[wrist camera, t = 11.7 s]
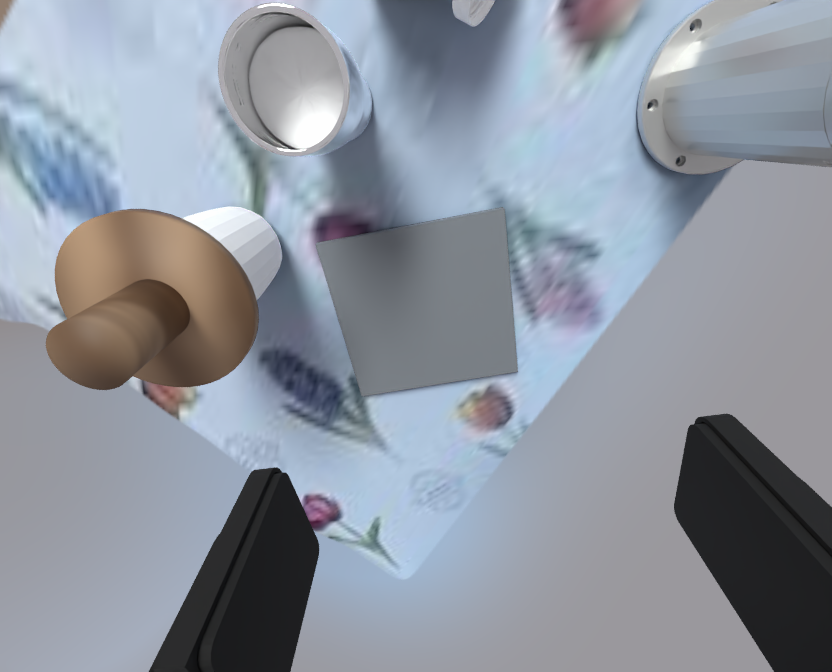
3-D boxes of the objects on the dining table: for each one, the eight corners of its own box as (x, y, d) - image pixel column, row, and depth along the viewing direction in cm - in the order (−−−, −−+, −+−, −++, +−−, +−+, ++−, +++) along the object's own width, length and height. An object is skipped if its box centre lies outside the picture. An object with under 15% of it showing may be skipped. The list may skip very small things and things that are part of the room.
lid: (212, 189, 23) (138, 212, 17) (284, 363, 28) (248, 429, 22) (26, 230, 24) (-110, 266, 18) (129, 391, 29) (53, 461, 23)
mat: (502, 207, 37) (504, 208, 37) (516, 367, 45) (517, 371, 45) (317, 242, 39) (315, 244, 38) (362, 392, 47) (361, 396, 46)
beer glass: (371, 156, 35) (345, 173, 22) (291, 139, 34) (215, 145, 21) (383, 63, 32) (362, 16, 19) (296, 42, 31) (210, -22, 18)
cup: (182, 217, 37) (66, 262, 25) (262, 187, 36) (182, 218, 24) (229, 297, 41) (148, 371, 29) (303, 272, 40) (253, 338, 27)
